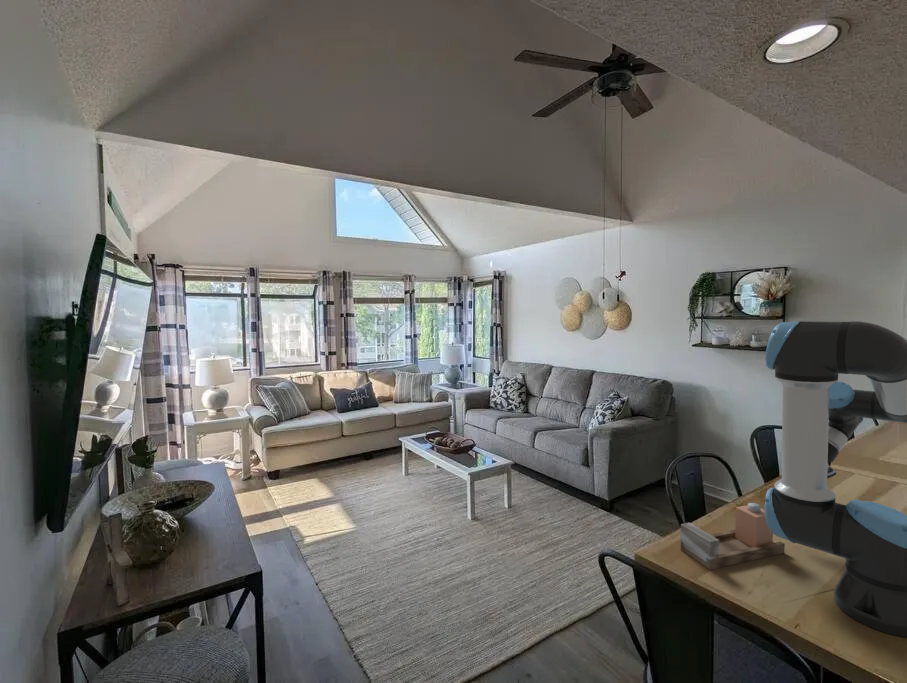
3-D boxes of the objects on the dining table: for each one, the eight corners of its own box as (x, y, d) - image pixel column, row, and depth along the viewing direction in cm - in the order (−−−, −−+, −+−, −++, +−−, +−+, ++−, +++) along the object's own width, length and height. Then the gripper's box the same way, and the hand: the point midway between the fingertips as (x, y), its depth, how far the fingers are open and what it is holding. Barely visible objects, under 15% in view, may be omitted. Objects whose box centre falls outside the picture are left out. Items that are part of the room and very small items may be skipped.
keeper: (751, 534, 128) (752, 499, 127) (772, 545, 122) (773, 508, 121) (735, 537, 127) (735, 501, 126) (755, 549, 120) (756, 511, 120)
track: (751, 535, 131) (751, 511, 130) (784, 553, 121) (785, 526, 120) (680, 549, 124) (680, 524, 124) (709, 569, 114) (709, 542, 114)
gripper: (855, 459, 124) (809, 525, 121) (808, 445, 137) (765, 505, 134) (842, 443, 122) (795, 510, 119) (795, 430, 135) (751, 491, 132)
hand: (779, 507), depth 127 cm, fingers closed
